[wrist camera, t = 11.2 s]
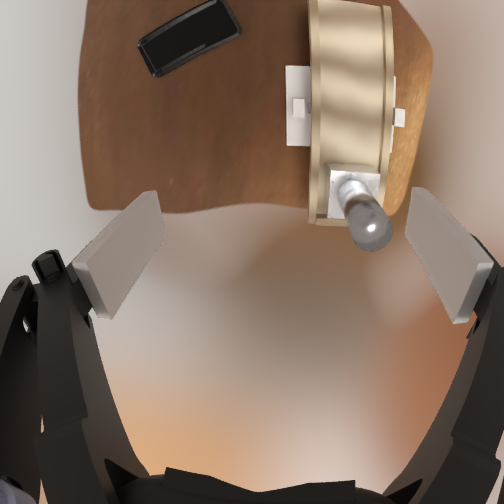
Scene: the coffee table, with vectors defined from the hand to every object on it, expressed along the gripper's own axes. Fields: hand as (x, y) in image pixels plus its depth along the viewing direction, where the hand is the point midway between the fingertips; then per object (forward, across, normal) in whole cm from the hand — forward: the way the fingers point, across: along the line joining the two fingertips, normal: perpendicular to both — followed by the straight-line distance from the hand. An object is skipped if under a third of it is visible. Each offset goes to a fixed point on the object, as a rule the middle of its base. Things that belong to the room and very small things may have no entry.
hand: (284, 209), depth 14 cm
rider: (+23, +8, -7) cm, 25 cm away
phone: (+31, -13, +16) cm, 37 cm away
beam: (+26, +8, +3) cm, 28 cm away
